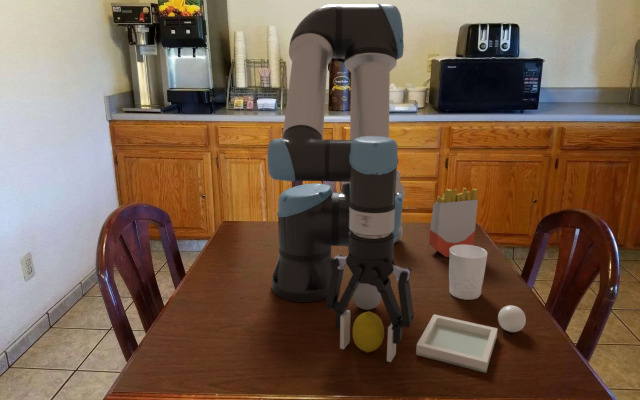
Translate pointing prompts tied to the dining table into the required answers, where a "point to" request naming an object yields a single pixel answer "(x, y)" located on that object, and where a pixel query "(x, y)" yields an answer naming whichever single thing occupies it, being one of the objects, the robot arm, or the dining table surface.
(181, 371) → the dining table surface
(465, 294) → the white cup
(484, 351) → the square dish
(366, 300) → the grey rubber ball
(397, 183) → the plastic bottle
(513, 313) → the white plastic ball
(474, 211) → the french fries container
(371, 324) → the lemon
